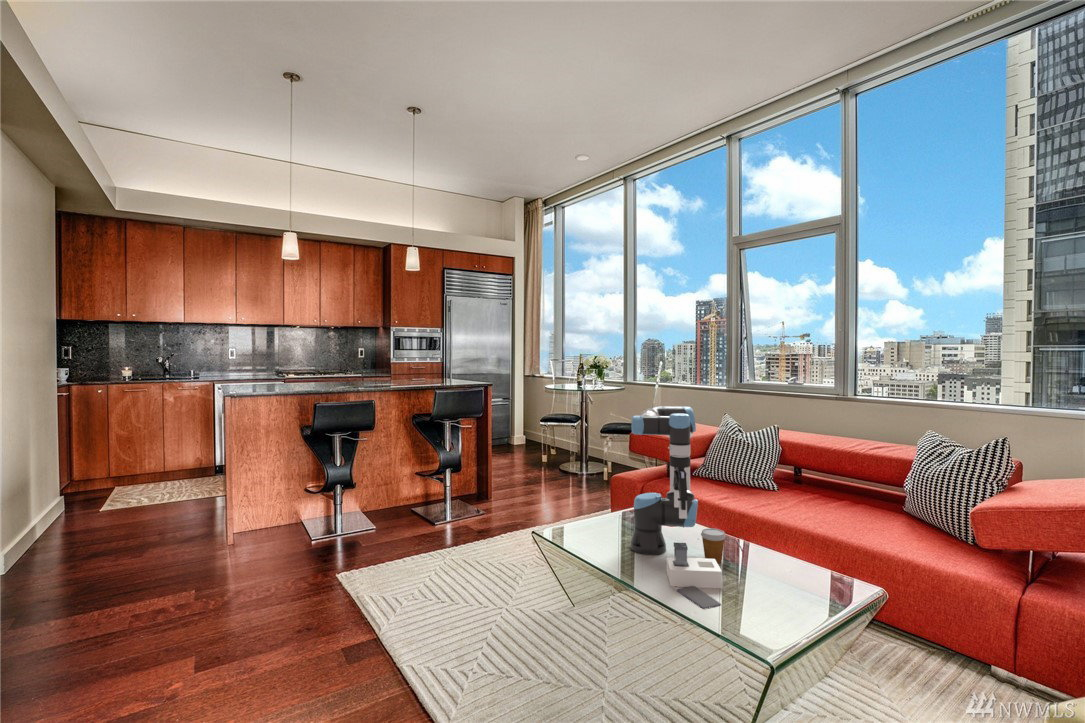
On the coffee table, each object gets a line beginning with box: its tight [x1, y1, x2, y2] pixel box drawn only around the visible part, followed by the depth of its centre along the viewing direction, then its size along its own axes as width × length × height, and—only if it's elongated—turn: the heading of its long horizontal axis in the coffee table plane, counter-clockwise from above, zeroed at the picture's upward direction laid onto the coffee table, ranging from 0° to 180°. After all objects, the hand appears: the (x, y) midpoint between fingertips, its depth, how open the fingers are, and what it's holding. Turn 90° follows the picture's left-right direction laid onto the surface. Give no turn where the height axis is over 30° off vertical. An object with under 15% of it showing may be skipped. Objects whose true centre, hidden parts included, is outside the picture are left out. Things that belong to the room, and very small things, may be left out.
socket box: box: [665, 556, 723, 589], centre depth 192 cm, size 12×18×6 cm
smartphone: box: [676, 586, 722, 609], centre depth 178 cm, size 8×1×15 cm
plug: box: [673, 542, 689, 567], centre depth 193 cm, size 4×4×12 cm
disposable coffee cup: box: [700, 527, 726, 565], centre depth 210 cm, size 10×10×12 cm
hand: (680, 512), depth 193 cm, fingers open, 13 cm apart
